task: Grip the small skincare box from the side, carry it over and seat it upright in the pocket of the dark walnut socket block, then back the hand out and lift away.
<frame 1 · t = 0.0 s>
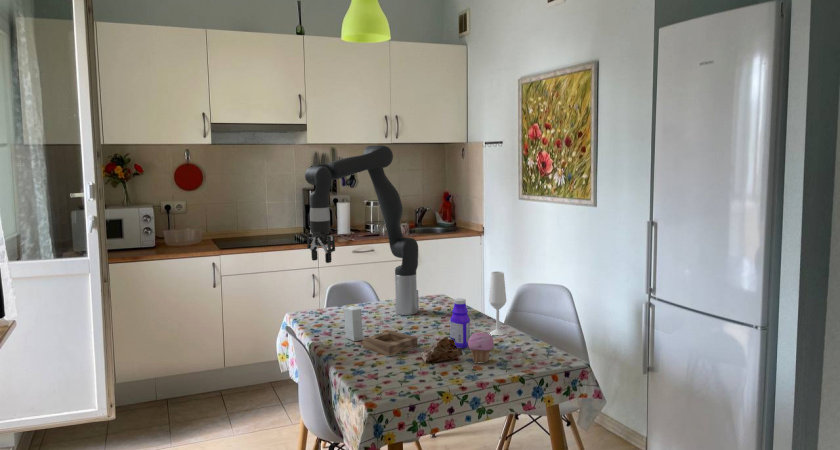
hand: (321, 261, 244), 29 cm above the table, tool pointing down, fingers open, 8 cm apart
skincare box: (353, 339, 243), on the table
bottle: (460, 346, 233), on the table
champagne flute: (497, 334, 247), on the table
cupcake: (480, 362, 216), on the table
walnut socket block: (390, 347, 232), on the table
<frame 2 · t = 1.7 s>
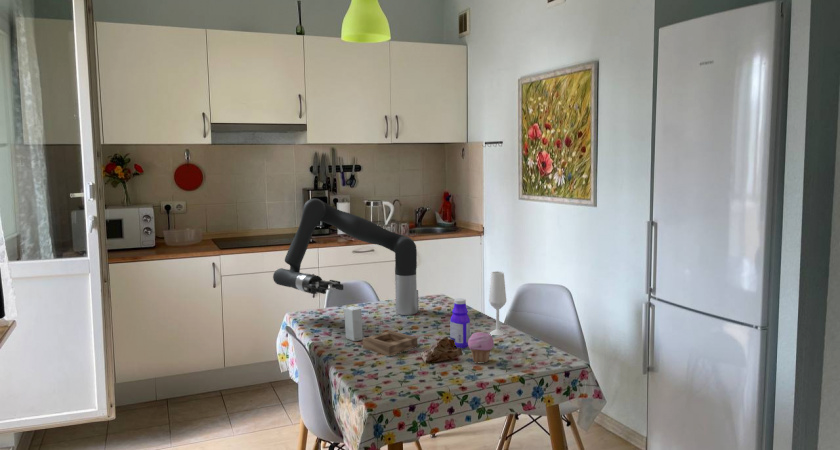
hand: (334, 289, 249), 18 cm above the table, tool horizontal, fingers open, 8 cm apart
nothing on the table moved.
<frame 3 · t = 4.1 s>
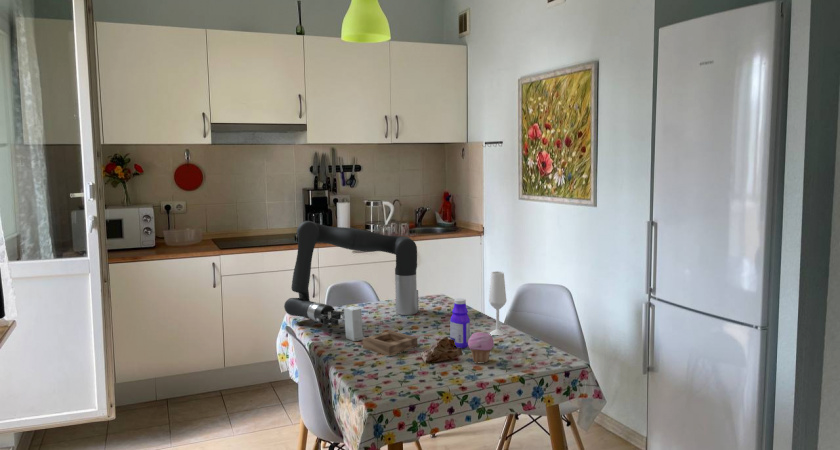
hand: (346, 320, 245), 7 cm above the table, tool horizontal, fingers open, 8 cm apart
nothing on the table moved.
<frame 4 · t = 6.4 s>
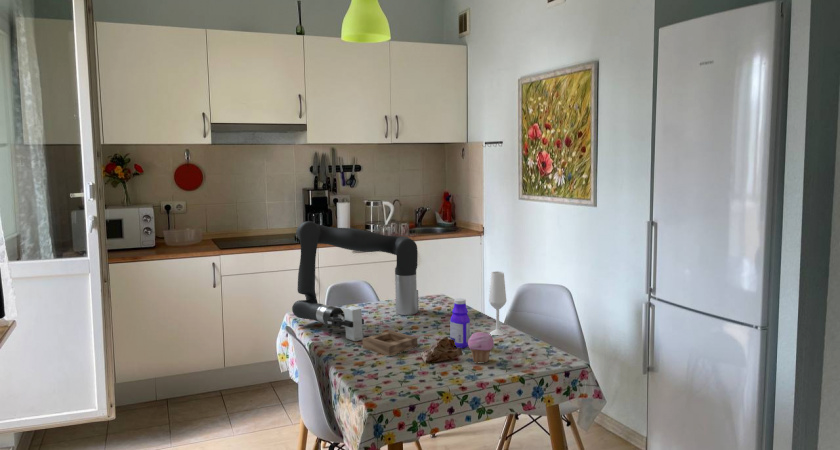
hand: (357, 323, 240), 7 cm above the table, tool horizontal, fingers closed on skincare box, 4 cm apart
skincare box: (353, 339, 243), on the table, touching gripper
everything else where it was.
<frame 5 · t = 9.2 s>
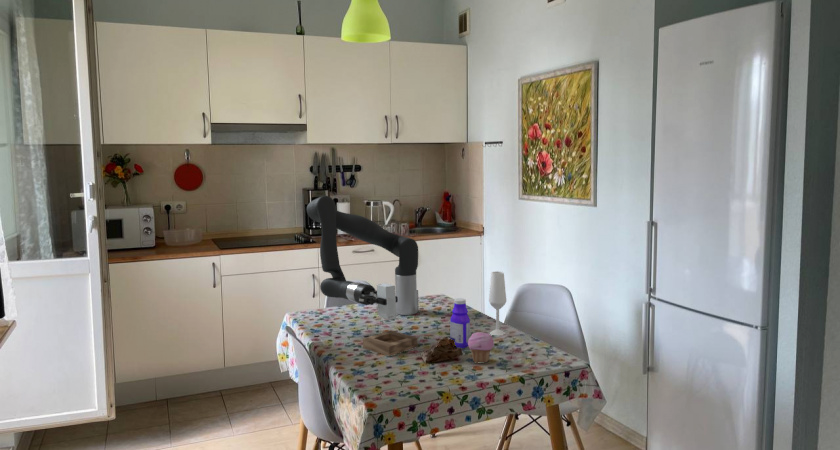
hand: (391, 300, 228), 18 cm above the table, tool horizontal, fingers closed on skincare box, 4 cm apart
skincare box: (386, 318, 231), point 11 cm above the table, touching gripper
everything else where it was.
when the fingers open (9 cm above the table, at t = 12.2 s): skincare box drops 1 cm, resting on walnut socket block.
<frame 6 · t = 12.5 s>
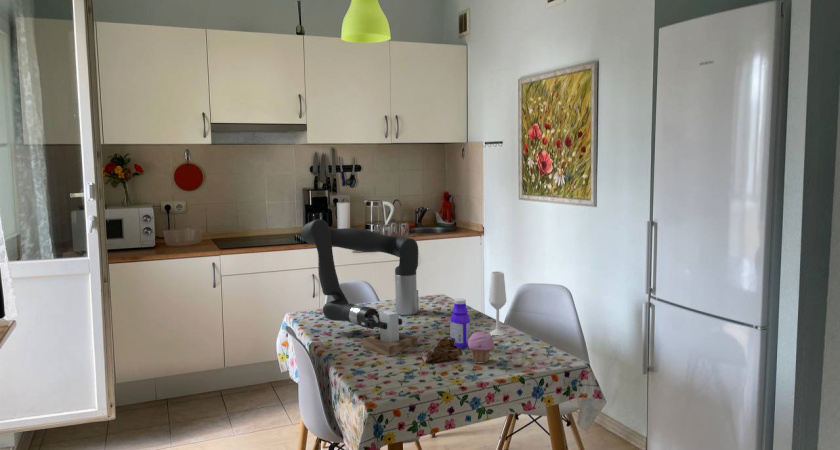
hand: (393, 324, 229), 9 cm above the table, tool horizontal, fingers open, 6 cm apart
skincare box: (389, 345, 232), point 1 cm above the table, touching walnut socket block
everything else where it was.
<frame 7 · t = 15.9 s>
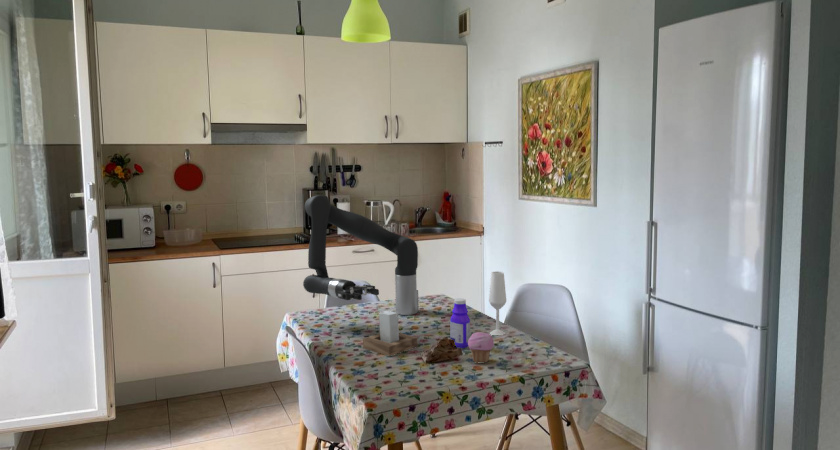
hand: (369, 294, 238), 18 cm above the table, tool horizontal, fingers open, 8 cm apart
nothing on the table moved.
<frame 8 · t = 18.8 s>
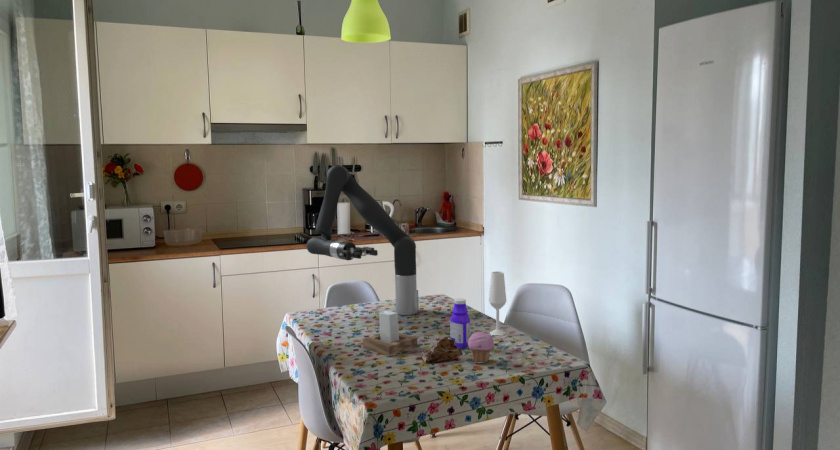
hand: (368, 254, 254), 30 cm above the table, tool horizontal, fingers open, 8 cm apart
nothing on the table moved.
at the end: skincare box 0.2 cm off-centre on the walnut socket block, point 0.8 cm above the walnut socket block's base; skincare box tilted 0°; the gripper is holding nothing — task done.
